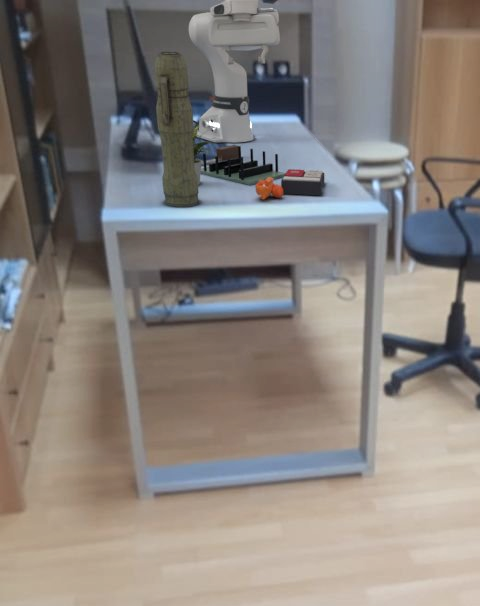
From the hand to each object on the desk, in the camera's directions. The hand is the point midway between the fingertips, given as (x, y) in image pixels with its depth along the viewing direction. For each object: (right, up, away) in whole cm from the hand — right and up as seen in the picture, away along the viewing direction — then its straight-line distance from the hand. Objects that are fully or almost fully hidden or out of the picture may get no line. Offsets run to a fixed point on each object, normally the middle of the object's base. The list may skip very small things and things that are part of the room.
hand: (246, 63), depth 223 cm
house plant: (-16, -36, -3) cm, 40 cm away
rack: (-3, -28, +9) cm, 30 cm away
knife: (-12, -19, +23) cm, 32 cm away
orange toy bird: (+8, -42, -12) cm, 45 cm away
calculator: (+17, -37, -2) cm, 40 cm away
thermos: (-14, -46, -19) cm, 52 cm away
